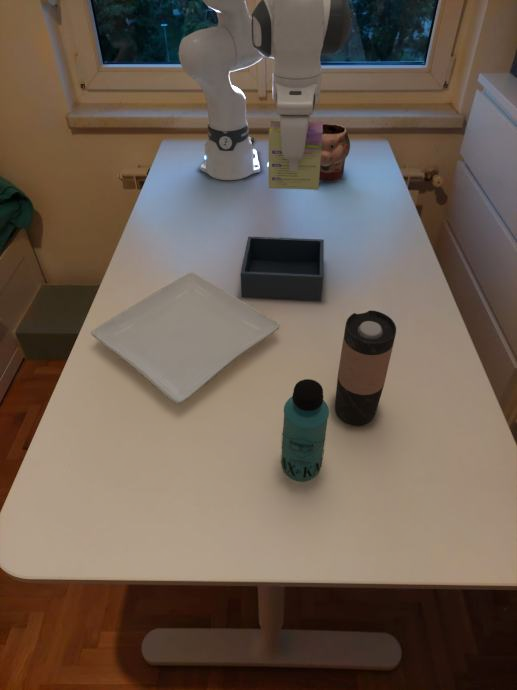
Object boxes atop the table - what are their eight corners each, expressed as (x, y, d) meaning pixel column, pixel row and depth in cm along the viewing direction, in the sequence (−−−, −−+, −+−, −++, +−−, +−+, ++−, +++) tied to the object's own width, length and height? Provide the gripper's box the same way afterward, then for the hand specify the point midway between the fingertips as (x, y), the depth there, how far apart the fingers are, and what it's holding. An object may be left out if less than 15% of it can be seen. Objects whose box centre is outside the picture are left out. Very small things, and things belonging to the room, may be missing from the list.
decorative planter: (308, 158, 162) (311, 114, 152) (347, 160, 161) (351, 115, 151) (305, 187, 148) (307, 140, 138) (346, 189, 147) (352, 142, 137)
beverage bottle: (277, 454, 82) (279, 372, 68) (318, 451, 82) (328, 368, 68) (282, 490, 77) (285, 409, 63) (325, 487, 78) (337, 405, 64)
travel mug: (366, 434, 85) (385, 350, 71) (325, 415, 88) (336, 331, 74) (383, 404, 89) (404, 320, 75) (344, 387, 92) (357, 303, 78)
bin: (248, 259, 122) (248, 236, 117) (321, 263, 120) (323, 239, 116) (241, 297, 112) (240, 273, 107) (321, 301, 110) (323, 277, 105)
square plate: (92, 344, 101) (87, 330, 99) (193, 283, 116) (191, 269, 113) (180, 416, 88) (177, 402, 85) (282, 336, 102) (282, 322, 99)
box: (319, 178, 107) (322, 120, 99) (318, 190, 103) (322, 132, 95) (270, 176, 108) (270, 120, 99) (268, 189, 104) (267, 131, 95)
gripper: (282, 72, 100) (281, 141, 110) (275, 108, 85) (275, 184, 95) (314, 72, 100) (310, 142, 109) (312, 108, 85) (308, 185, 94)
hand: (294, 162), depth 102 cm, fingers closed on box, 5 cm apart
